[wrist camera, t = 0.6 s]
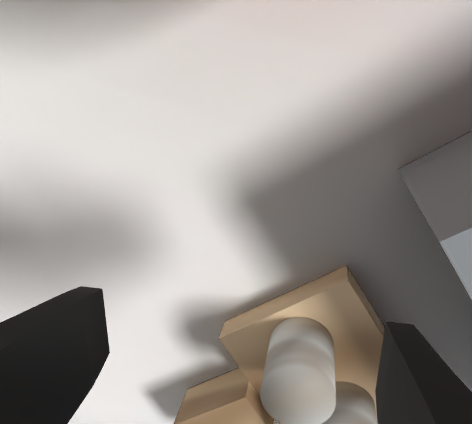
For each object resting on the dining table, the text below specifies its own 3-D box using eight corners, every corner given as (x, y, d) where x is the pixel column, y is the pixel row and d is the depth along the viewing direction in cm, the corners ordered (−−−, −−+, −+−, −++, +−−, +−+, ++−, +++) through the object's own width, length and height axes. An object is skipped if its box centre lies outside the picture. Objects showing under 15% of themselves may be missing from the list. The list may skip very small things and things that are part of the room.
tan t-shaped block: (424, 391, 22) (451, 481, 17) (236, 454, 26) (217, 541, 21) (346, 264, 20) (353, 327, 16) (159, 351, 24) (120, 422, 20)
